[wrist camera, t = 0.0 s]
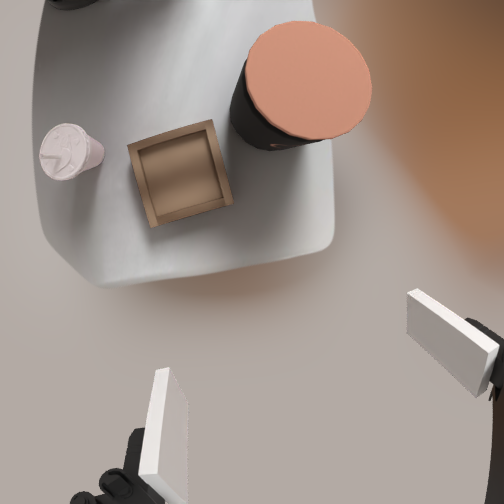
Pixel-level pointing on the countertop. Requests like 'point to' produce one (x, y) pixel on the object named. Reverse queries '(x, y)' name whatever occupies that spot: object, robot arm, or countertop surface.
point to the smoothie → (69, 152)
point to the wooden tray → (180, 173)
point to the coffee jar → (300, 87)
